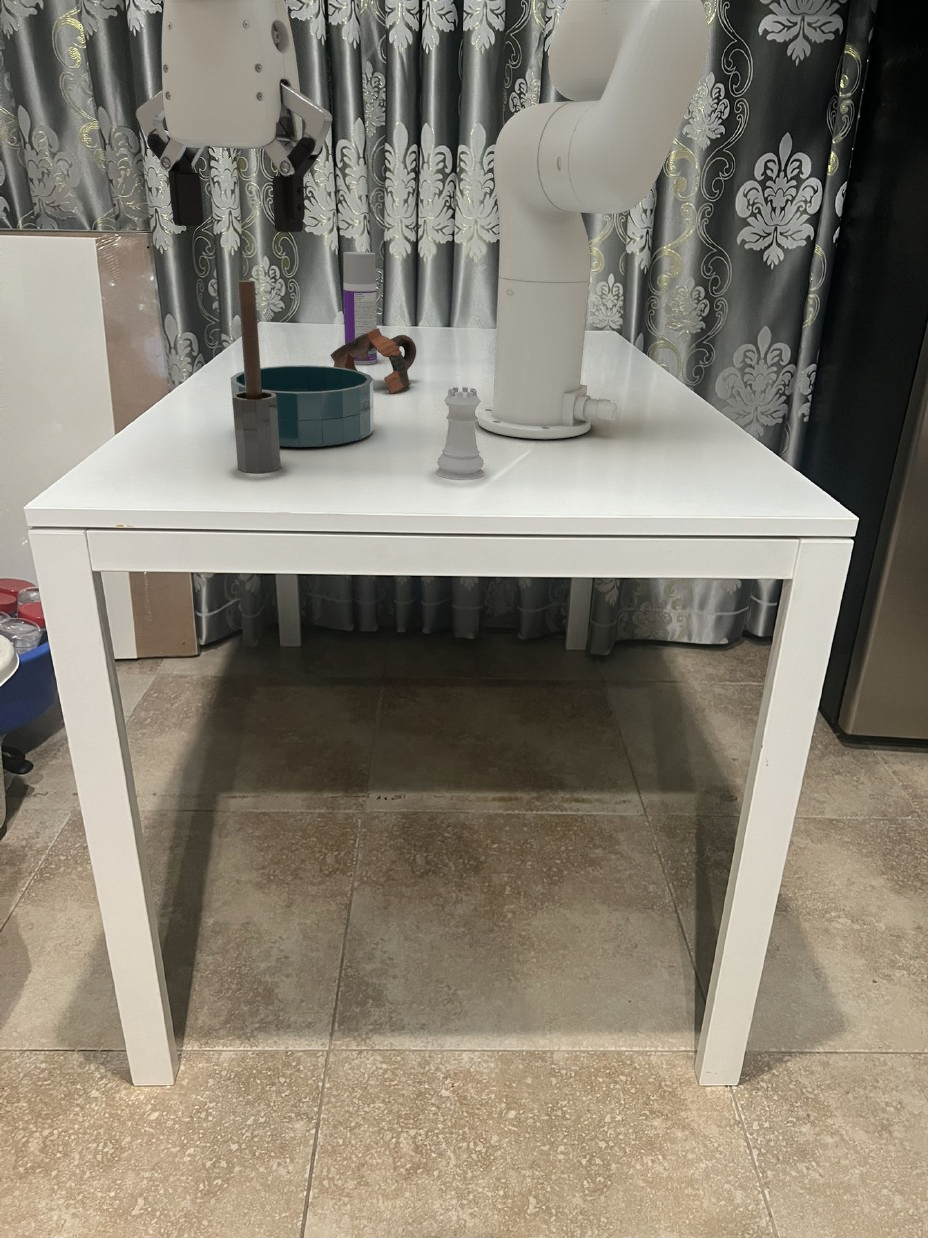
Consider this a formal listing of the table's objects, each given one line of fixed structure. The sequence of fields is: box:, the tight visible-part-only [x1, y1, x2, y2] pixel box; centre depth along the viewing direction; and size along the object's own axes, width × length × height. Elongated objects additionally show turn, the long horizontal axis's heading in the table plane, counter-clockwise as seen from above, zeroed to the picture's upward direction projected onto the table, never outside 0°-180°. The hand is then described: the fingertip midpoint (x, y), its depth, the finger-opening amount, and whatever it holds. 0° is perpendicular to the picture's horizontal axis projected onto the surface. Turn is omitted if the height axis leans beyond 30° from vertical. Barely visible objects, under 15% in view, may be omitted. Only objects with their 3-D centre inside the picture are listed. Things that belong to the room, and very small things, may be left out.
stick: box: [237, 279, 262, 399], centre depth 79 cm, size 1×1×16 cm
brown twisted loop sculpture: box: [329, 327, 417, 394], centre depth 118 cm, size 12×10×8 cm
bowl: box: [230, 364, 375, 448], centre depth 93 cm, size 14×14×6 cm
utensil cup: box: [231, 391, 282, 475], centre depth 81 cm, size 4×4×7 cm
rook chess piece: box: [435, 386, 485, 481], centre depth 82 cm, size 4×4×8 cm
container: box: [343, 251, 378, 366], centre depth 131 cm, size 5×5×15 cm
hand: (238, 228), depth 74 cm, fingers open, 9 cm apart
